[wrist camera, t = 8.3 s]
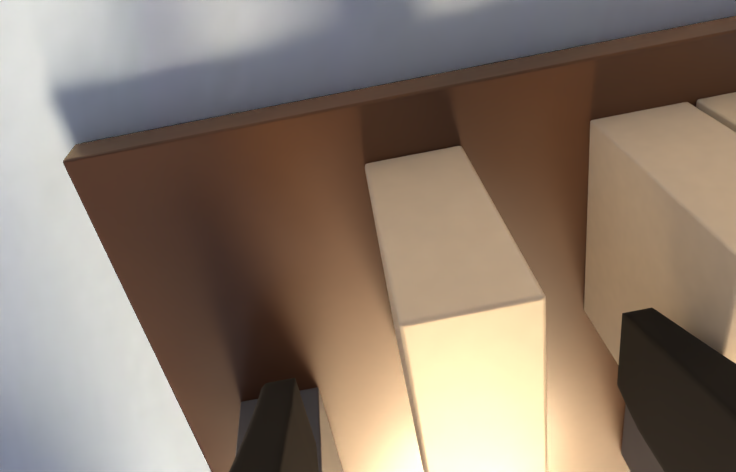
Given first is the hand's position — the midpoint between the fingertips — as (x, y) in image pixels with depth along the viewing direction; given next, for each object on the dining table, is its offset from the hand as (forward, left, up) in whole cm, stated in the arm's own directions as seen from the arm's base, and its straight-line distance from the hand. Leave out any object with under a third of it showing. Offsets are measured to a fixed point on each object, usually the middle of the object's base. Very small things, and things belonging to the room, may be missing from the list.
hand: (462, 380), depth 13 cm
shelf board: (+1, -5, -6) cm, 7 cm away
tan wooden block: (0, 0, -5) cm, 5 cm away
